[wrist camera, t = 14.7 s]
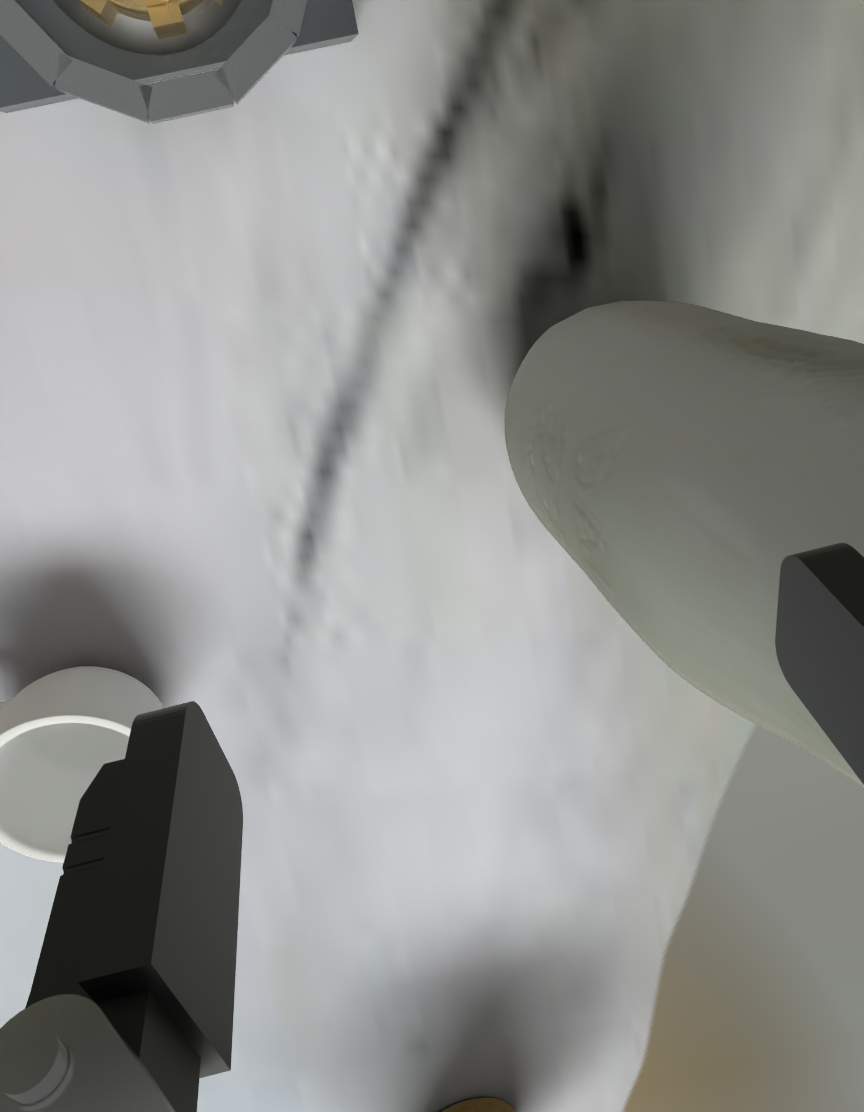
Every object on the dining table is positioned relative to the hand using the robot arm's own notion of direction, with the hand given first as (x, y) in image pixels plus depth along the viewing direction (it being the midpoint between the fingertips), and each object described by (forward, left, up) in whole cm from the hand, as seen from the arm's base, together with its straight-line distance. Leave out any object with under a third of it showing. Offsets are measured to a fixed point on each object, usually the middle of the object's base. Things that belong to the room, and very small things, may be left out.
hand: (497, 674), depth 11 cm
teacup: (+15, +13, -25) cm, 32 cm away
